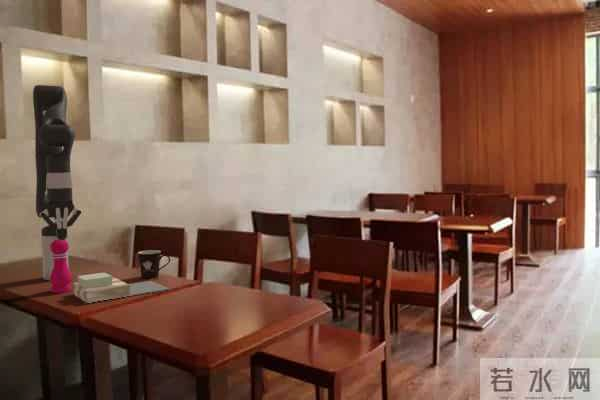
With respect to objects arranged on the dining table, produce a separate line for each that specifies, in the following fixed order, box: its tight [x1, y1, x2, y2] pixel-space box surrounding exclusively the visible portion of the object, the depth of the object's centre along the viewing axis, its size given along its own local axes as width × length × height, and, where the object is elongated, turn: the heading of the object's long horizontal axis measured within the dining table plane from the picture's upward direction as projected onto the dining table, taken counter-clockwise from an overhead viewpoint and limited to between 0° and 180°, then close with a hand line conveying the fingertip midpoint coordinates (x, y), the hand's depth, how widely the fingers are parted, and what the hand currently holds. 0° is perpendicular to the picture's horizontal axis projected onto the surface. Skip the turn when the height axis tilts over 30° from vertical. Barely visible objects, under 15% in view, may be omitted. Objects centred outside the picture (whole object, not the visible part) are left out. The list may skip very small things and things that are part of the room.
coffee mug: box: [137, 249, 171, 280], centre depth 212 cm, size 12×9×10 cm
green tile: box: [77, 272, 113, 289], centre depth 183 cm, size 8×9×3 cm
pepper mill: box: [49, 237, 73, 294], centre depth 191 cm, size 7×7×20 cm
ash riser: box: [72, 276, 130, 304], centre depth 185 cm, size 16×14×4 cm
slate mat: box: [128, 280, 170, 297], centre depth 193 cm, size 16×14×1 cm
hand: (61, 239), depth 176 cm, fingers closed
